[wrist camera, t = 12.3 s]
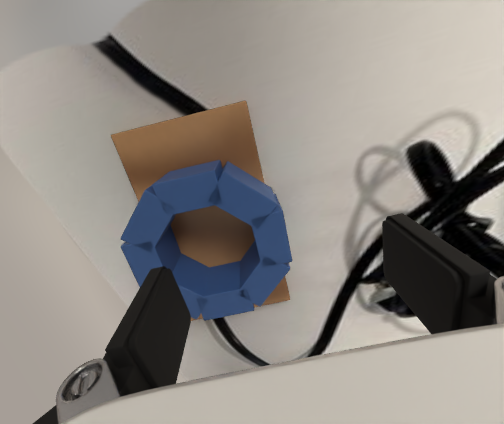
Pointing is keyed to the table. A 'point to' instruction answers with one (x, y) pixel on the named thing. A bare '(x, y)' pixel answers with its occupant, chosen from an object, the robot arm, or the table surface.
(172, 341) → the robot arm
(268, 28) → the table surface
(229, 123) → the mat
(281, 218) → the ring
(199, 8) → the table surface
